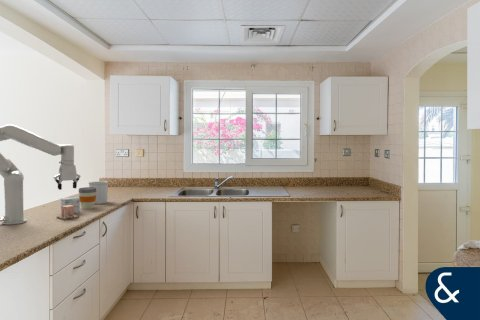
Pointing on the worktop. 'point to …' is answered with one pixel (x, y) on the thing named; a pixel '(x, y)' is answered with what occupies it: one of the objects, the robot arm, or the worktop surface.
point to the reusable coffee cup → (87, 197)
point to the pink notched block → (68, 207)
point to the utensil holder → (100, 191)
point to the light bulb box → (71, 201)
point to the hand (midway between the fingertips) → (67, 188)
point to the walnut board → (67, 217)
